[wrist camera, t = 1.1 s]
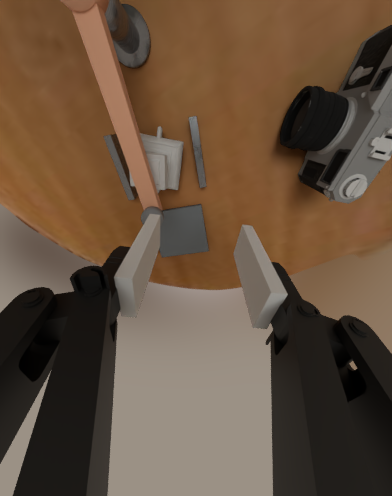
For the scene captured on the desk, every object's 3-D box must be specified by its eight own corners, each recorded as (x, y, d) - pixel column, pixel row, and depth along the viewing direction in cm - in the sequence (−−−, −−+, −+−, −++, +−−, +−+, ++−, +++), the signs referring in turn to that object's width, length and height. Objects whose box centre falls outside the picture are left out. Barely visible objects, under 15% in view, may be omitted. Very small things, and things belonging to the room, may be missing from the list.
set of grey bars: (68, 23, 20) (-18, -44, 12) (178, -10, 19) (163, -111, 11) (133, 195, 31) (110, 219, 23) (205, 182, 30) (208, 203, 22)
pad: (147, 212, 33) (146, 214, 33) (200, 203, 32) (201, 205, 31) (162, 255, 39) (162, 257, 38) (208, 249, 37) (208, 251, 37)
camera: (323, 8, 19) (413, -78, 11) (403, 34, 20) (543, -29, 12) (259, 176, 29) (283, 196, 21) (316, 188, 30) (360, 212, 22)
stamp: (179, 192, 31) (173, 211, 24) (140, 185, 30) (122, 203, 23) (185, 130, 26) (180, 132, 19) (139, 121, 25) (116, 120, 18)
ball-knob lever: (43, -55, 12) (10, -94, 10) (94, -73, 11) (70, -118, 9) (145, 221, 23) (140, 231, 21) (172, 217, 22) (170, 226, 20)
